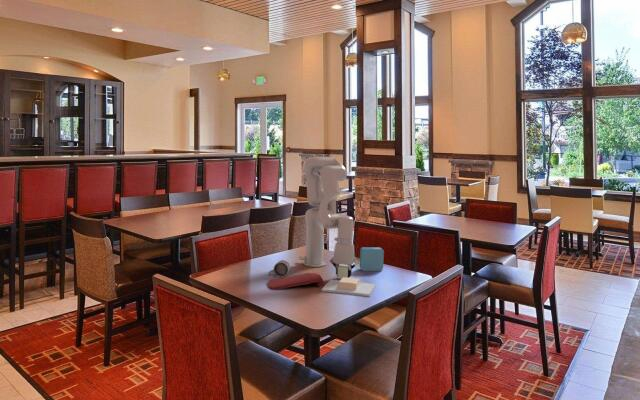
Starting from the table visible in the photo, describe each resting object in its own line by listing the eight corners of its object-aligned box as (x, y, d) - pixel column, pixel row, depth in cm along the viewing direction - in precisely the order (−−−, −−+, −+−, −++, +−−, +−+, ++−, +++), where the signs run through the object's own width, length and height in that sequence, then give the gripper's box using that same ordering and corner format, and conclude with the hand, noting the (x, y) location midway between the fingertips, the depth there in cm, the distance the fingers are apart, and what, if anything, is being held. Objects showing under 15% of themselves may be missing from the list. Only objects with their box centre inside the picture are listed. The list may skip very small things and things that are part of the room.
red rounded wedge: (271, 298, 211) (324, 287, 216) (269, 287, 210) (323, 277, 215) (268, 290, 223) (319, 280, 227) (267, 280, 222) (317, 270, 227)
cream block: (337, 278, 229) (337, 266, 229) (339, 275, 234) (340, 264, 233) (347, 279, 228) (347, 267, 227) (349, 276, 233) (349, 265, 232)
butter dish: (321, 291, 210) (322, 282, 210) (330, 281, 225) (330, 273, 225) (369, 296, 204) (369, 287, 204) (375, 286, 219) (375, 278, 219)
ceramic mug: (290, 273, 239) (290, 258, 238) (288, 277, 231) (288, 262, 230) (270, 272, 239) (269, 258, 238) (267, 277, 231) (267, 262, 230)
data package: (381, 268, 252) (382, 247, 251) (383, 271, 248) (384, 249, 246) (359, 268, 251) (360, 247, 249) (361, 271, 246) (361, 249, 245)
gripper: (326, 241, 227) (325, 276, 230) (360, 244, 223) (358, 280, 225) (330, 238, 235) (328, 272, 237) (363, 241, 230) (361, 276, 232)
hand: (343, 276), depth 231 cm, fingers closed on cream block, 4 cm apart
